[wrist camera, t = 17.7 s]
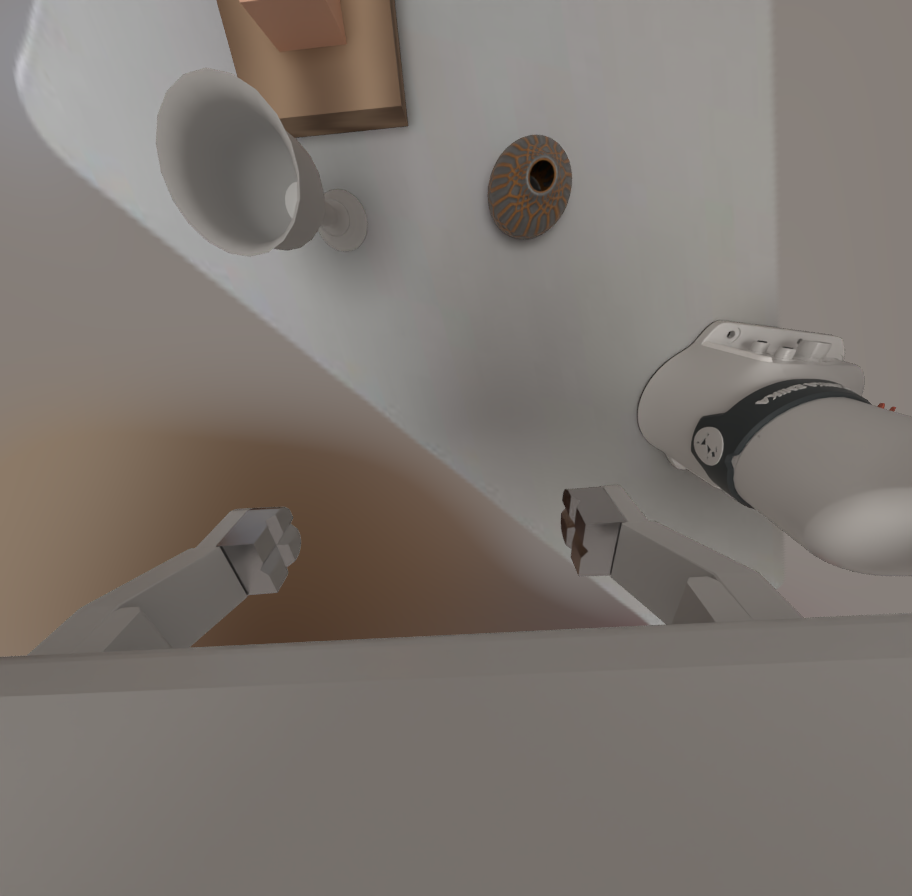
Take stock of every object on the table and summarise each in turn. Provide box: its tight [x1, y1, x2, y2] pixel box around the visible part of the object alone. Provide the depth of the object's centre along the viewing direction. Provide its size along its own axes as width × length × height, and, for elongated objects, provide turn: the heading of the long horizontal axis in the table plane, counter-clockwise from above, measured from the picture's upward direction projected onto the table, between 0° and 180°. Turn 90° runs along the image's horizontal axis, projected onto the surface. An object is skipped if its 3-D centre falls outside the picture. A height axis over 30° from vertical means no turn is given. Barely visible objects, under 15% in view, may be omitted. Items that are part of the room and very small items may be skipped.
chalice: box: [156, 68, 367, 257], centre depth 24 cm, size 7×7×18 cm
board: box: [217, 0, 408, 138], centre depth 25 cm, size 12×12×4 cm
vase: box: [488, 135, 572, 239], centre depth 28 cm, size 7×7×9 cm
